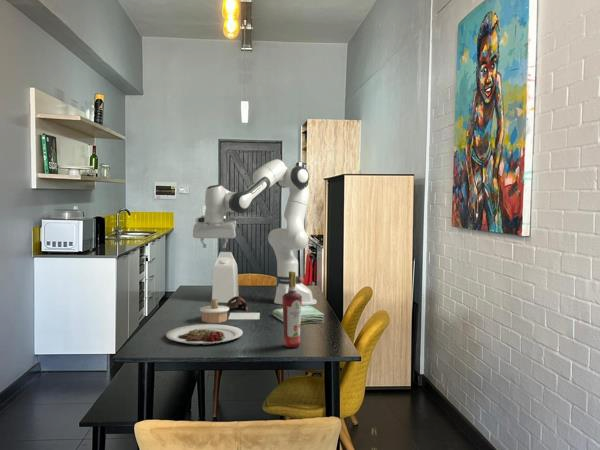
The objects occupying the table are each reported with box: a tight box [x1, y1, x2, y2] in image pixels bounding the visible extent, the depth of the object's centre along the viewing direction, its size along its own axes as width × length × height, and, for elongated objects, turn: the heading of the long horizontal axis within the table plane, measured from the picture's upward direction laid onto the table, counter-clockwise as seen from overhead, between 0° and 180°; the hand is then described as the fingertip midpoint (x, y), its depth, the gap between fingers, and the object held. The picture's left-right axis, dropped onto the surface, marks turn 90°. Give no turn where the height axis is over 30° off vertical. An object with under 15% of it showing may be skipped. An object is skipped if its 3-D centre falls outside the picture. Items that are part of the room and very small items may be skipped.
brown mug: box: [226, 295, 249, 311], centre depth 276 cm, size 12×10×8 cm
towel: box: [272, 305, 325, 325], centre depth 257 cm, size 18×21×5 cm
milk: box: [211, 251, 240, 304], centre depth 301 cm, size 12×12×26 cm
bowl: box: [201, 311, 228, 324], centre depth 252 cm, size 11×11×5 cm
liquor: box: [282, 271, 303, 349], centre depth 210 cm, size 7×7×28 cm
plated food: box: [165, 323, 244, 345], centre depth 224 cm, size 30×30×3 cm
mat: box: [227, 312, 261, 320], centre depth 261 cm, size 14×14×1 cm
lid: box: [199, 298, 230, 313], centre depth 252 cm, size 13×13×5 cm
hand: (214, 247), depth 270 cm, fingers open, 8 cm apart
